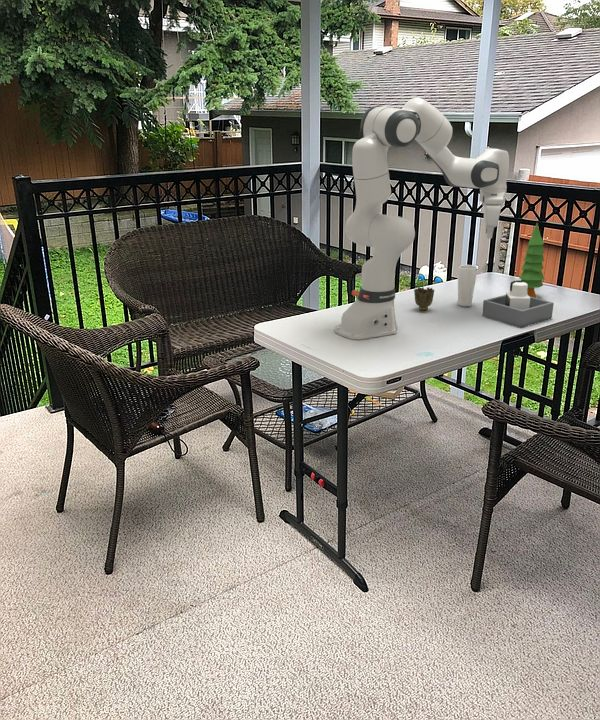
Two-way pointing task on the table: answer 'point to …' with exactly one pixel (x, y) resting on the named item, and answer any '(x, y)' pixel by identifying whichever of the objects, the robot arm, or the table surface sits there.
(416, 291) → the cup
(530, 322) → the bin
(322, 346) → the table surface
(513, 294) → the medicine bottle
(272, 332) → the table surface
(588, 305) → the table surface
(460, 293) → the drinking glass
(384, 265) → the robot arm
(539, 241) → the decorative tree
